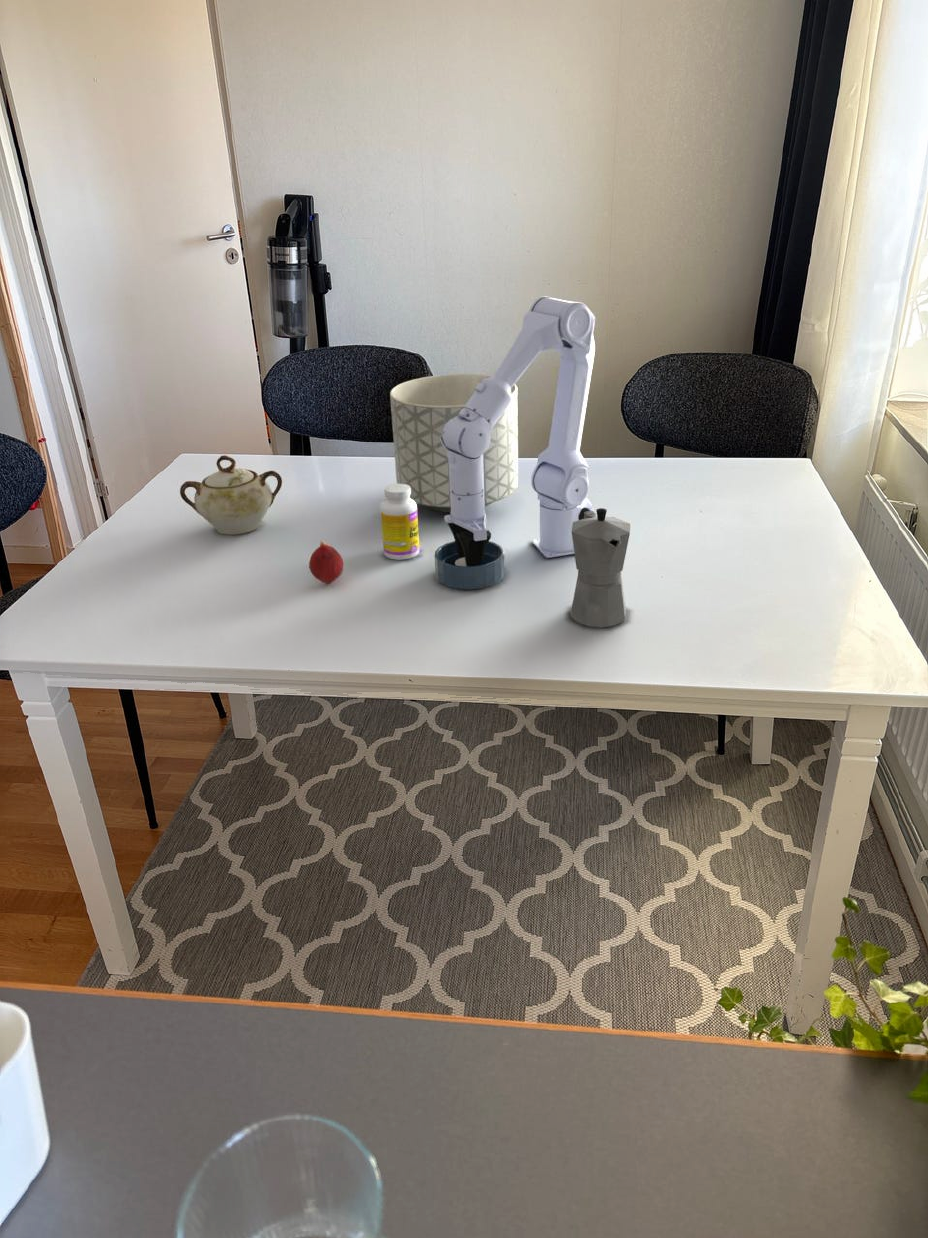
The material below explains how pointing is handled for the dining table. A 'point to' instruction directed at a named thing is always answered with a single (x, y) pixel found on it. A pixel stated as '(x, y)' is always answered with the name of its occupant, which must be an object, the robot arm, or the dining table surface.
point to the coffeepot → (599, 568)
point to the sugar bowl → (232, 498)
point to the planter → (419, 446)
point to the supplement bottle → (399, 523)
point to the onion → (326, 563)
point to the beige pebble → (460, 562)
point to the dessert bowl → (469, 567)
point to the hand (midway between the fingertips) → (469, 564)
